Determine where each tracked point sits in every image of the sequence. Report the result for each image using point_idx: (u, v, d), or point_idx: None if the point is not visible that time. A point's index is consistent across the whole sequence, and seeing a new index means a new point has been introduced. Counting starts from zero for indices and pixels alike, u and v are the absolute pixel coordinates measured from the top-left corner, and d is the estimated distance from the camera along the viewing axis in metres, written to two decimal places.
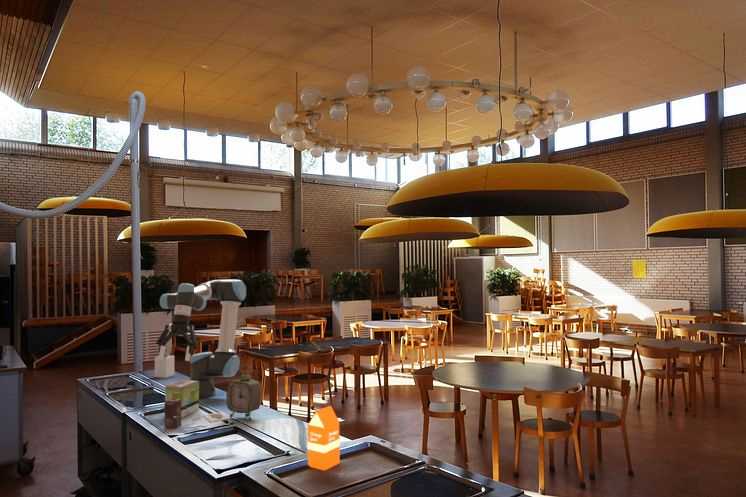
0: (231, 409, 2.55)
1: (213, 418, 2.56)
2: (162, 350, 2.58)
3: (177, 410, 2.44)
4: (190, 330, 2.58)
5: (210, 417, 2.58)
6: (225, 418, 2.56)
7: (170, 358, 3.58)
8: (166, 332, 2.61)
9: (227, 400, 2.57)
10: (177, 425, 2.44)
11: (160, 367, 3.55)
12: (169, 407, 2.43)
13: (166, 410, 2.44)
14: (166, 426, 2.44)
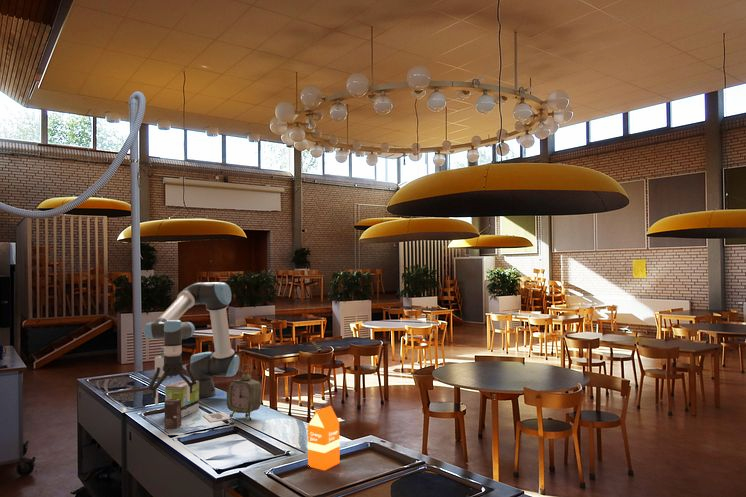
0: (231, 409, 2.55)
1: (213, 418, 2.56)
2: (157, 395, 2.42)
3: (177, 410, 2.44)
4: (188, 370, 2.48)
5: (210, 417, 2.58)
6: (225, 418, 2.56)
7: None
8: None
9: (227, 400, 2.57)
10: (177, 425, 2.44)
11: None
12: (169, 408, 2.43)
13: (166, 410, 2.44)
14: (166, 426, 2.44)
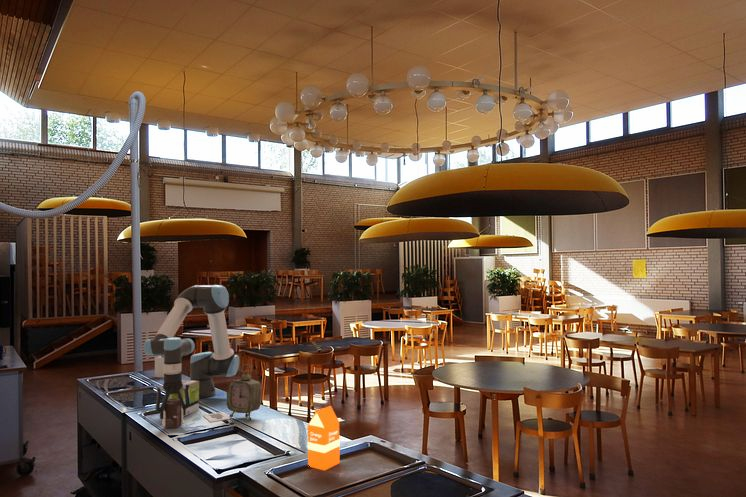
0: (231, 409, 2.55)
1: (213, 418, 2.56)
2: (164, 416, 2.43)
3: (177, 410, 2.44)
4: (186, 390, 2.48)
5: (210, 417, 2.58)
6: (225, 418, 2.56)
7: None
8: None
9: (227, 400, 2.57)
10: (177, 425, 2.44)
11: (160, 367, 3.55)
12: (169, 407, 2.43)
13: (166, 410, 2.44)
14: (166, 426, 2.44)
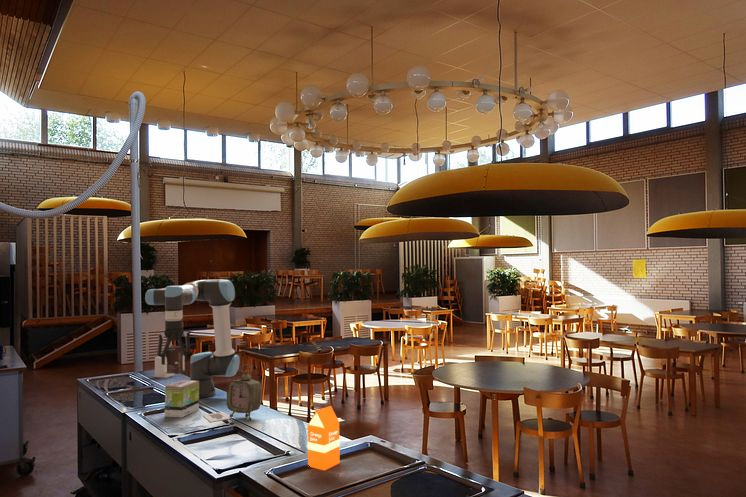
0: (231, 409, 2.55)
1: (213, 418, 2.56)
2: (166, 362, 2.46)
3: (178, 356, 2.47)
4: (187, 337, 2.51)
5: (210, 417, 2.58)
6: (225, 418, 2.56)
7: None
8: None
9: (227, 400, 2.57)
10: (178, 371, 2.47)
11: (160, 367, 3.55)
12: (170, 354, 2.47)
13: (168, 356, 2.47)
14: (168, 372, 2.47)
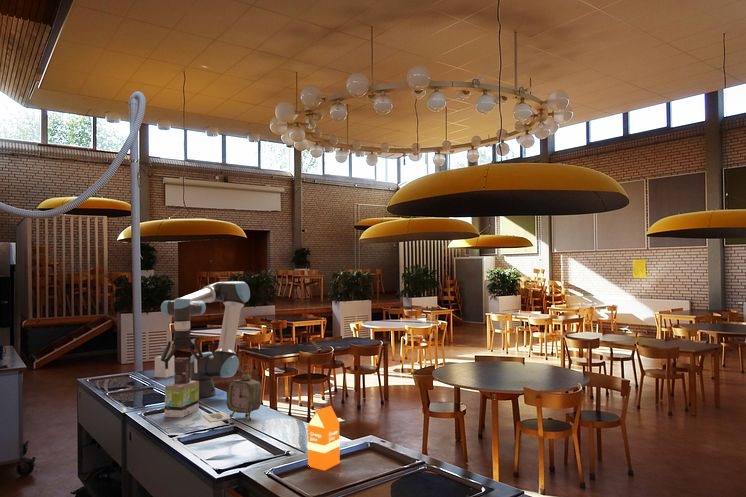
0: (231, 409, 2.55)
1: (213, 418, 2.56)
2: (169, 366, 2.65)
3: (186, 367, 2.66)
4: (196, 344, 2.71)
5: (210, 417, 2.58)
6: (225, 418, 2.56)
7: None
8: None
9: (227, 400, 2.57)
10: (186, 381, 2.67)
11: (160, 367, 3.55)
12: (178, 365, 2.66)
13: (176, 367, 2.67)
14: (176, 382, 2.67)
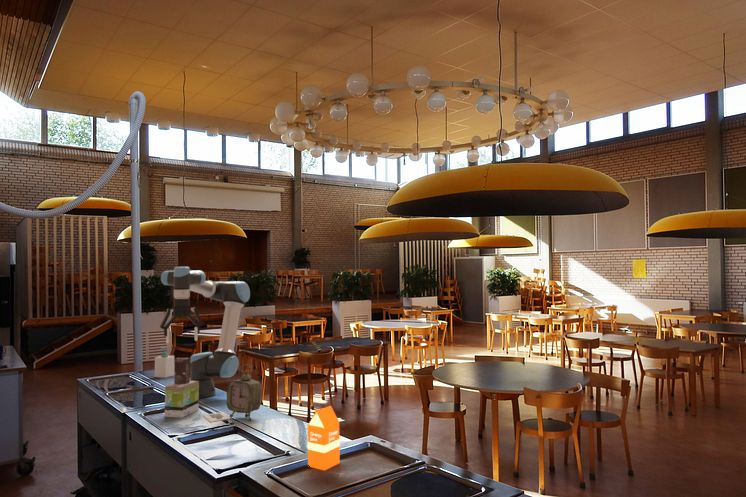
0: (231, 409, 2.55)
1: (213, 418, 2.56)
2: None
3: (186, 367, 2.66)
4: (196, 312, 2.72)
5: (210, 417, 2.58)
6: (225, 418, 2.56)
7: (170, 358, 3.58)
8: None
9: (227, 400, 2.57)
10: (186, 381, 2.67)
11: (160, 367, 3.55)
12: (178, 365, 2.66)
13: (176, 367, 2.67)
14: (176, 382, 2.67)
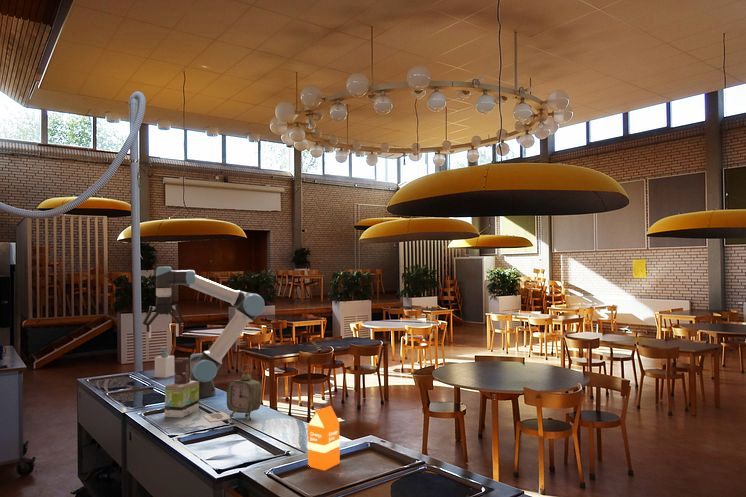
0: (231, 409, 2.55)
1: (213, 418, 2.56)
2: (150, 329, 2.82)
3: (186, 367, 2.66)
4: (177, 309, 2.89)
5: (210, 417, 2.58)
6: (225, 418, 2.56)
7: (170, 358, 3.58)
8: (150, 313, 2.83)
9: (227, 400, 2.57)
10: (186, 381, 2.66)
11: (160, 367, 3.55)
12: (178, 365, 2.66)
13: (176, 367, 2.66)
14: (176, 382, 2.66)
